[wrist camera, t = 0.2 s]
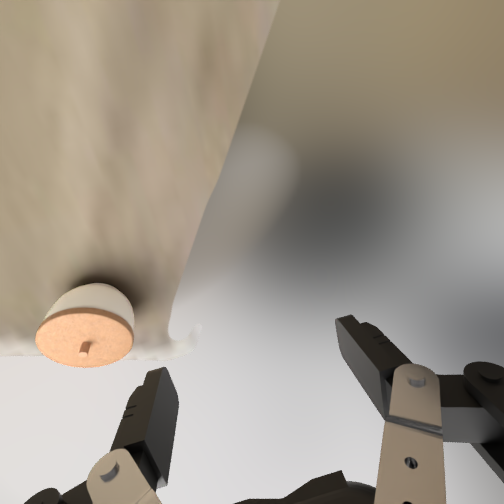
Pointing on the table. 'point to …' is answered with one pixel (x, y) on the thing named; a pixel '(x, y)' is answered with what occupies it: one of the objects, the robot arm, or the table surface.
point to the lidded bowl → (88, 327)
